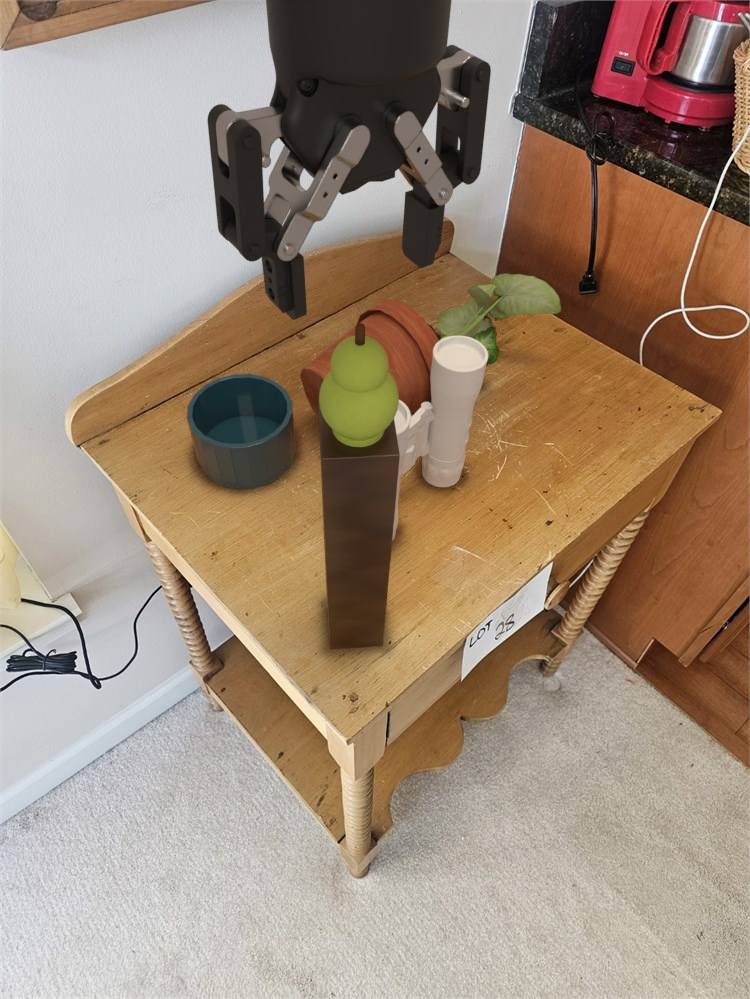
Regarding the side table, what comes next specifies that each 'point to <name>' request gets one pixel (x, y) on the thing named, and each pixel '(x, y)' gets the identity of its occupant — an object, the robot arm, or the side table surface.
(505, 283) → the potted plant
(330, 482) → the pedestal
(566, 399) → the side table surface
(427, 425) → the binoculars
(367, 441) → the pear
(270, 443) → the teal bowl
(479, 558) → the side table surface
